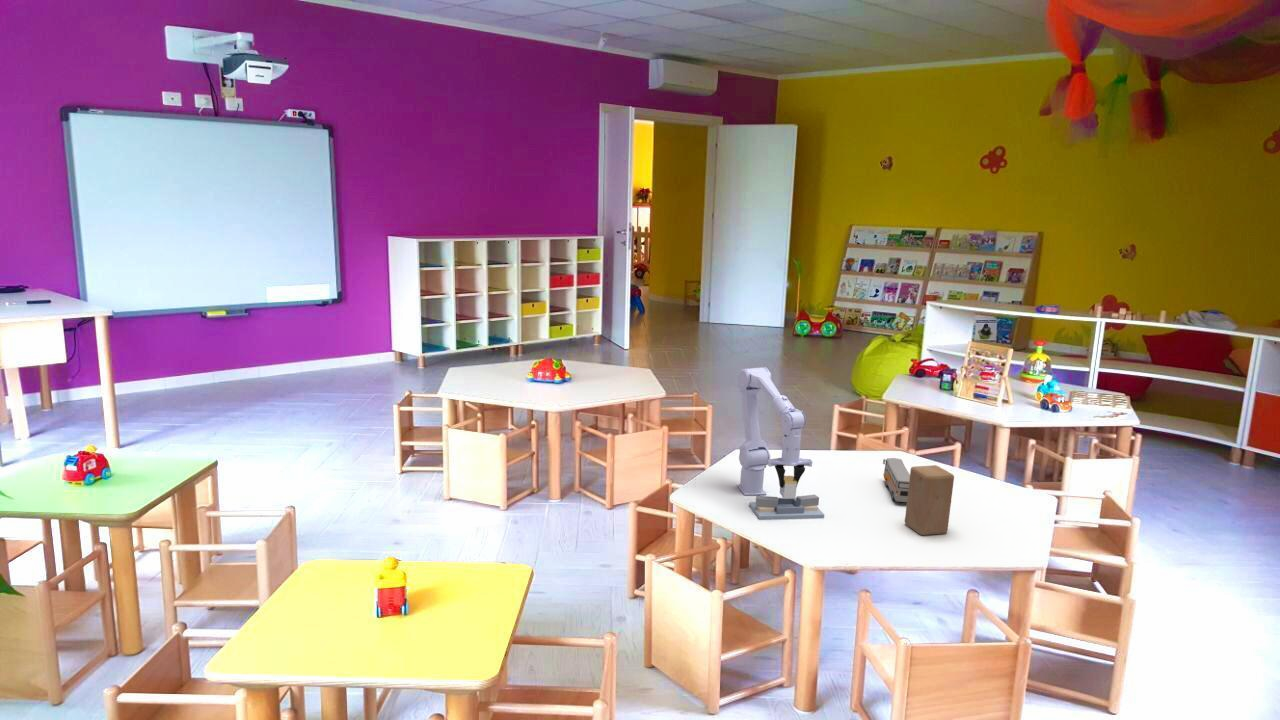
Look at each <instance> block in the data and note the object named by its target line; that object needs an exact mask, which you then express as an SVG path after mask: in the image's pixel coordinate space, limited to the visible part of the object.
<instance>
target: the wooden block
mask: <svg viewBox="0 0 1280 720" xmlns="http://www.w3.org/2000/svg"><path fill="white" fill-rule="evenodd" d="M909 474H910V479H909V488H908V497H907V502H906V506H905V508H906V509H905V516H904V525H906V526H907V527H909V528H910V529H911V530H913V531H915V532H916V533H917V534H918V535H920V536H931V535H940V534H941V535H942V534H947V533H948V529H949V524H950V523H949V522H950V513H951V512H950V511H951V506H952V496H953V490H954V483H955V482H954V480H955V475H954V474H953V473H951V472H949V471H947V470H946V469H944V468H942V467H940V466H938V465H935V464H934V465H920V466H919V465H917V466H911V468H910V471H909Z"/></svg>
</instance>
